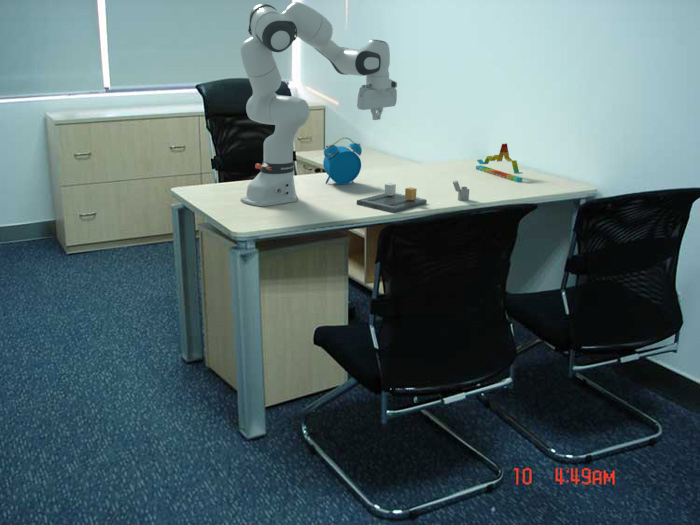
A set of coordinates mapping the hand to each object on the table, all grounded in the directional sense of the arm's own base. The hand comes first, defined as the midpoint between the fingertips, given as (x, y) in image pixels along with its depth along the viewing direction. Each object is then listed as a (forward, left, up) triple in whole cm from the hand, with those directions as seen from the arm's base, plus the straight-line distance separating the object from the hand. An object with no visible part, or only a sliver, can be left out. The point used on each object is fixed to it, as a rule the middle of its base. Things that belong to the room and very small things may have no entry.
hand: (376, 119), depth 296 cm
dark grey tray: (-10, -17, -29) cm, 35 cm away
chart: (+67, -17, -30) cm, 75 cm away
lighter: (+14, -32, -29) cm, 46 cm away
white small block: (-5, -12, -27) cm, 30 cm away
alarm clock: (+2, +20, -29) cm, 36 cm away
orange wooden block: (-5, -22, -27) cm, 35 cm away
